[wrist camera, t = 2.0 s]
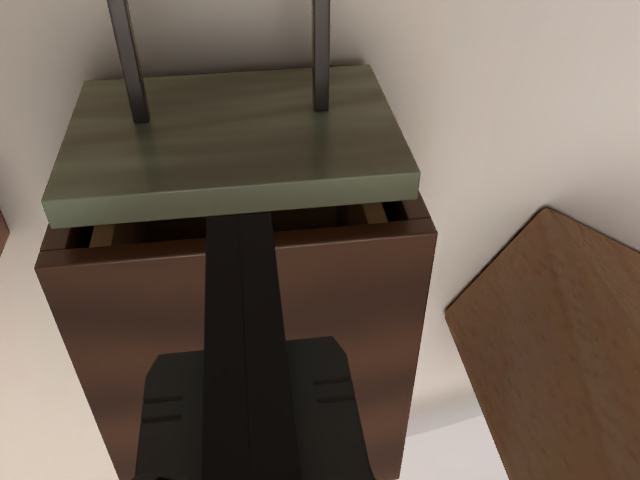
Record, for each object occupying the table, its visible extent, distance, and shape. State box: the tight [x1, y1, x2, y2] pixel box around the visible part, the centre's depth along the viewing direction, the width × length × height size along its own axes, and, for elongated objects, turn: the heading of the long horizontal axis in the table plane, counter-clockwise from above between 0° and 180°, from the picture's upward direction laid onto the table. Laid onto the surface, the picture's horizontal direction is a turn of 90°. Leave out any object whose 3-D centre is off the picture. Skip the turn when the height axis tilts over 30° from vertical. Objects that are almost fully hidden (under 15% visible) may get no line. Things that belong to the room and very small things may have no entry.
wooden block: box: [445, 208, 640, 480], centre depth 33 cm, size 10×10×20 cm
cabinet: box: [34, 190, 438, 480], centre depth 30 cm, size 17×14×11 cm
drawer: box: [41, 0, 420, 247], centre depth 27 cm, size 22×13×9 cm, turn 0°
